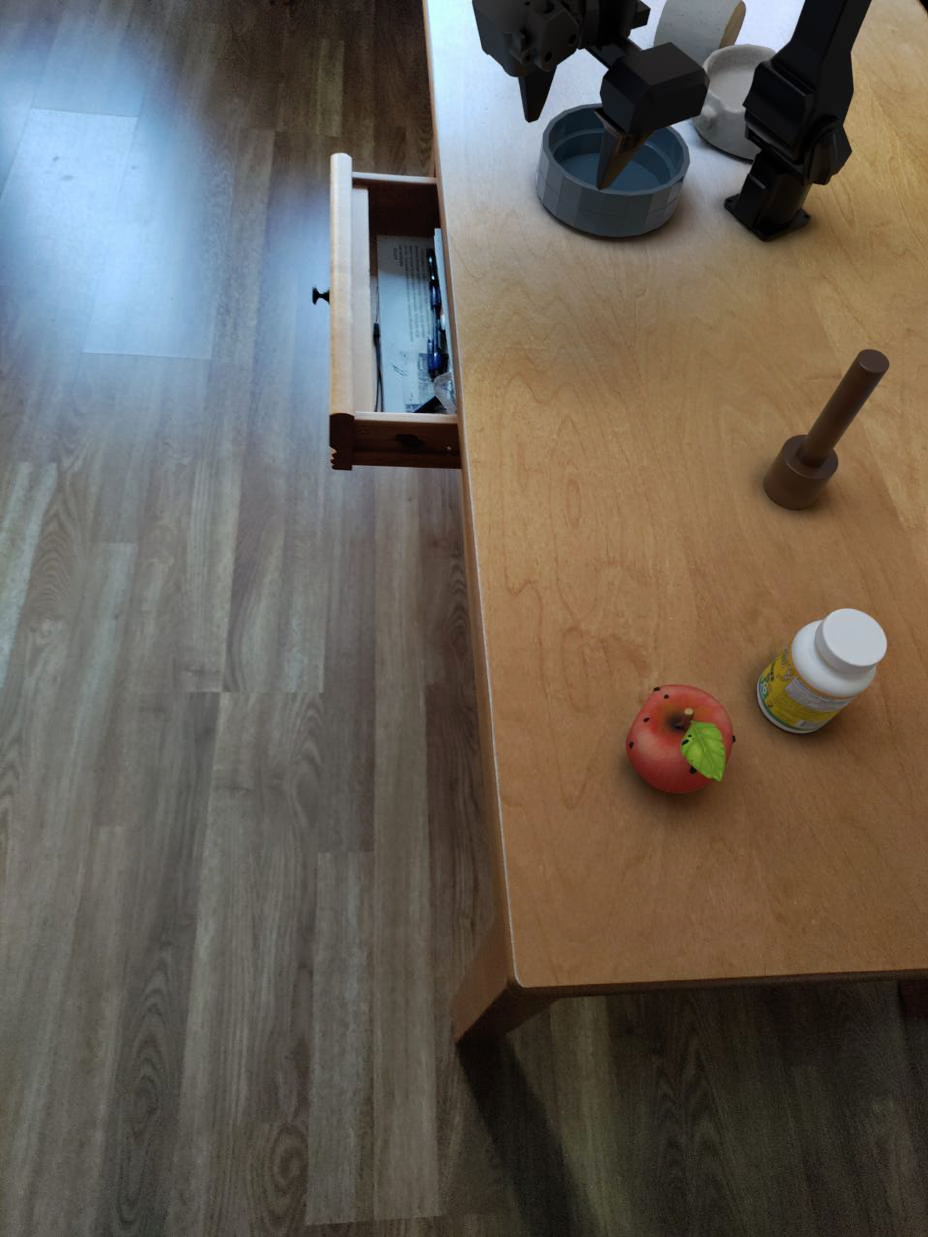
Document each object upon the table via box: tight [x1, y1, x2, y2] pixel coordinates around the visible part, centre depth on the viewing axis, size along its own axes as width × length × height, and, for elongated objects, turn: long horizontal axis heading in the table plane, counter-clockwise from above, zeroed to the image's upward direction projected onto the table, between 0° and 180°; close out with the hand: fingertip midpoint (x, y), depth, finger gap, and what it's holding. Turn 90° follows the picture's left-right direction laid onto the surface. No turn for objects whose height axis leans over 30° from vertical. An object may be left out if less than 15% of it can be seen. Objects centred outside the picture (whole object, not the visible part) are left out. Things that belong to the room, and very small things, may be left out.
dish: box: [691, 43, 777, 161], centre depth 91 cm, size 14×14×5 cm
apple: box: [625, 683, 737, 794], centre depth 53 cm, size 8×7×10 cm
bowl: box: [535, 102, 691, 238], centre depth 84 cm, size 14×14×5 cm
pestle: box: [763, 348, 890, 510], centre depth 64 cm, size 4×4×14 cm
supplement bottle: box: [756, 608, 888, 734], centre depth 56 cm, size 5×5×10 cm
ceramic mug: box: [653, 0, 747, 67], centre depth 97 cm, size 11×8×8 cm
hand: (566, 153), depth 65 cm, fingers open, 9 cm apart
